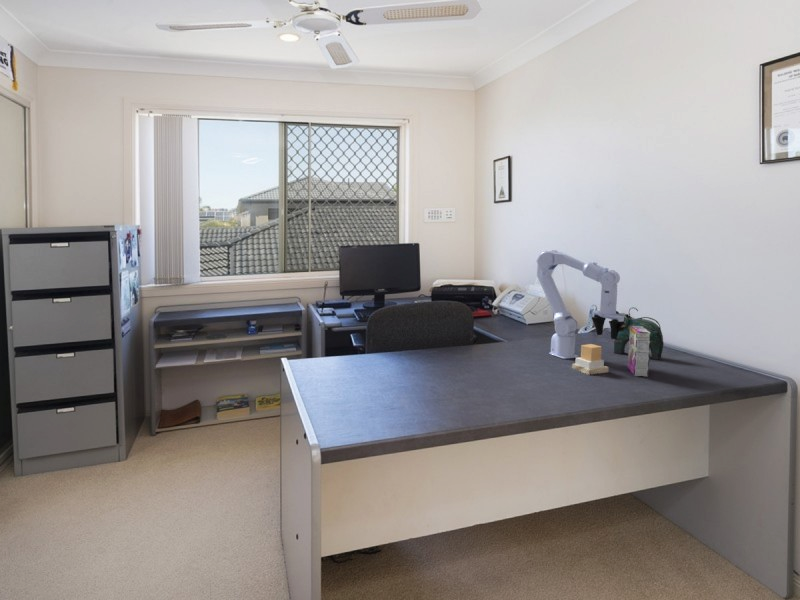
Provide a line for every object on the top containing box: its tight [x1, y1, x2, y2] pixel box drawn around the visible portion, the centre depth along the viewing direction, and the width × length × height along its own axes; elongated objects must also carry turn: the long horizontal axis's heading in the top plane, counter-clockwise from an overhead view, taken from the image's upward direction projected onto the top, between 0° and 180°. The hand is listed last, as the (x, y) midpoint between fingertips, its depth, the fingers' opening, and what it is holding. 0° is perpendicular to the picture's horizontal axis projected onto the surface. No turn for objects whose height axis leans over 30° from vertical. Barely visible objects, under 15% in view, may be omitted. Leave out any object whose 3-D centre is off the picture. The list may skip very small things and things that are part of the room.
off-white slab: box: [574, 356, 605, 369], centre depth 194 cm, size 7×7×2 cm
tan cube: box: [580, 343, 602, 361], centre depth 193 cm, size 5×5×5 cm
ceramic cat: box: [610, 306, 665, 360], centre depth 214 cm, size 20×6×20 cm, turn 49°
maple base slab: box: [571, 363, 609, 376], centre depth 194 cm, size 9×9×2 cm
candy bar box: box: [627, 326, 651, 378], centre depth 190 cm, size 11×5×16 cm, turn 168°
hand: (606, 336), depth 203 cm, fingers open, 7 cm apart
